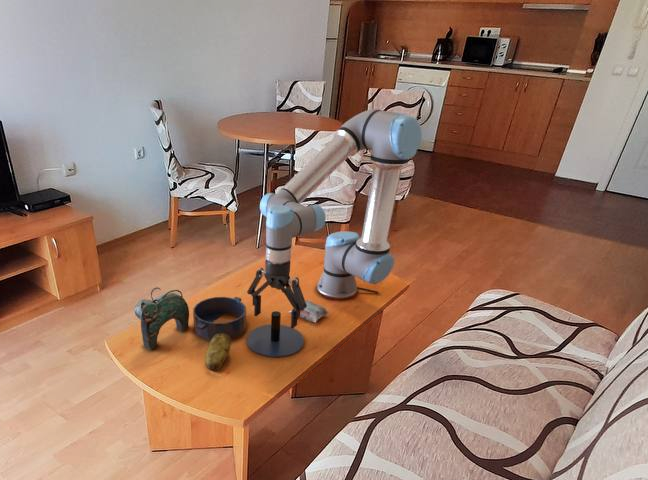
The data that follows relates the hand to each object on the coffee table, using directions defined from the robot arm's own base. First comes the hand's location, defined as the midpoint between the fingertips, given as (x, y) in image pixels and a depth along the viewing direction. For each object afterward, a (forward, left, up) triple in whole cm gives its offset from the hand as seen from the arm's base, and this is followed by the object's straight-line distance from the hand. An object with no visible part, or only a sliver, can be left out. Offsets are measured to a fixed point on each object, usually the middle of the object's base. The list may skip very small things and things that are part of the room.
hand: (275, 320), depth 162 cm
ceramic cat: (+33, +17, -9) cm, 38 cm away
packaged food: (-2, -20, -9) cm, 22 cm away
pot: (+21, +2, -9) cm, 23 cm away
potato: (+10, +19, -9) cm, 23 cm away
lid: (0, 0, -8) cm, 8 cm away
